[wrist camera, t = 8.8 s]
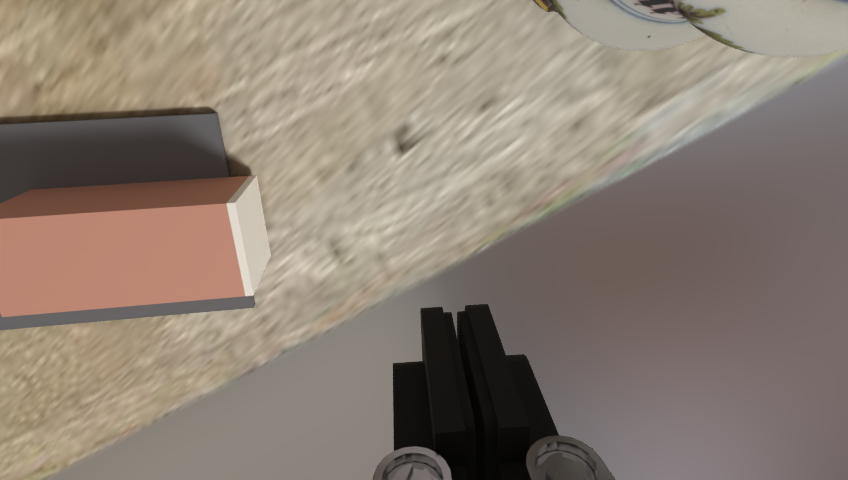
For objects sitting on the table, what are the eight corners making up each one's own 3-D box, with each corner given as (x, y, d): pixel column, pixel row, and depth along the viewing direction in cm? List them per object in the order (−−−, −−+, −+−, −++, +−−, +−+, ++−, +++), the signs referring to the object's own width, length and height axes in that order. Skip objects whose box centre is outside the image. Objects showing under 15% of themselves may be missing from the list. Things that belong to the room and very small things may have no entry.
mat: (217, 112, 26) (214, 113, 26) (255, 303, 31) (253, 307, 30) (-104, 129, 25) (-113, 130, 24) (-13, 327, 29) (-19, 331, 29)
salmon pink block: (234, 202, 23) (-40, 221, 22) (253, 295, 25) (2, 317, 24) (256, 175, 27) (30, 189, 26) (270, 255, 29) (60, 271, 28)
